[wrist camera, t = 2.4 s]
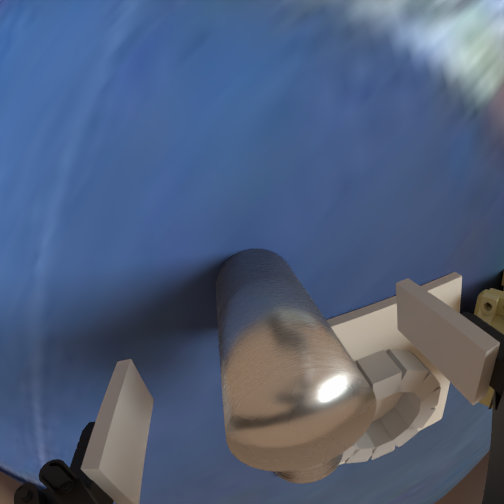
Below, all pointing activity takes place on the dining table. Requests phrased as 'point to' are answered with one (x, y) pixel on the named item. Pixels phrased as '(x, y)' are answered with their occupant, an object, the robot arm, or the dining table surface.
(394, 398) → the plate
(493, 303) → the mechanical component
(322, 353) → the elbow
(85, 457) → the robot arm
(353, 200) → the dining table surface
